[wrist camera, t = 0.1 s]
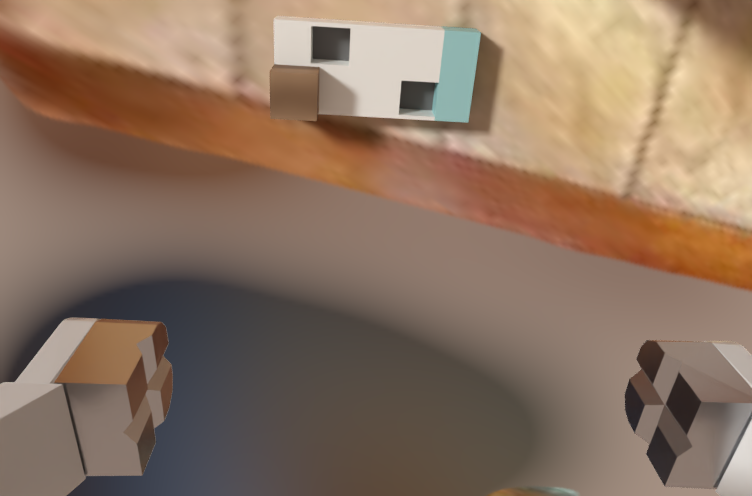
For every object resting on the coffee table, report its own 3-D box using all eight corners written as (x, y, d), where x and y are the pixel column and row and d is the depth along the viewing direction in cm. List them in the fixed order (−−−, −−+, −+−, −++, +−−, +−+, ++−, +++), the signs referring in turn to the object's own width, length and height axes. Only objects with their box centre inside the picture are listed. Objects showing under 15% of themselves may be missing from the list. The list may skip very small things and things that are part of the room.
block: (274, 64, 51) (269, 71, 49) (319, 66, 52) (317, 74, 49) (275, 109, 53) (270, 118, 50) (318, 111, 53) (316, 121, 51)
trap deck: (277, 15, 52) (273, 19, 50) (475, 28, 53) (481, 32, 51) (278, 104, 56) (275, 111, 53) (463, 115, 57) (468, 122, 54)
